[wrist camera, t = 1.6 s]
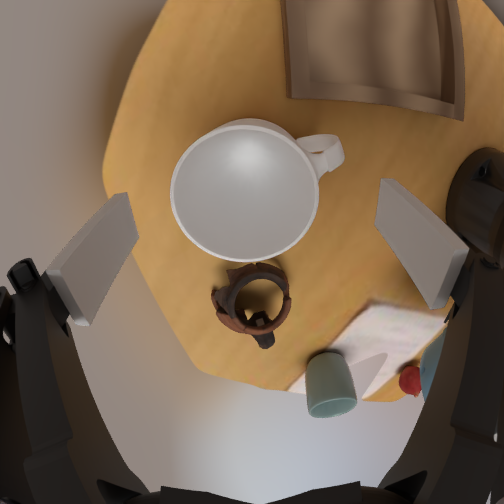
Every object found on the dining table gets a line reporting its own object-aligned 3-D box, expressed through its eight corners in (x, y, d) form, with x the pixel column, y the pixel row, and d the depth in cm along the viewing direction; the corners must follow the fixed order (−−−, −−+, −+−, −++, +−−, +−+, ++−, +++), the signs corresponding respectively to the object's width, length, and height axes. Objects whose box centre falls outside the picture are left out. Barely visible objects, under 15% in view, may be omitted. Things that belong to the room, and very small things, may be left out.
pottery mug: (193, 274, 35) (202, 293, 27) (257, 239, 36) (282, 247, 29) (235, 345, 38) (253, 375, 30) (291, 312, 40) (319, 333, 32)
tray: (433, -19, 12) (450, -26, 9) (443, 115, 22) (463, 121, 19) (274, -54, 12) (276, -70, 9) (286, 97, 22) (292, 98, 19)
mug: (228, 210, 29) (211, 280, 19) (190, 135, 25) (144, 166, 15) (333, 171, 26) (377, 223, 16) (303, 90, 22) (338, 85, 12)
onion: (420, 355, 46) (432, 385, 39) (417, 367, 49) (427, 396, 42) (395, 364, 47) (406, 396, 40) (394, 376, 50) (403, 406, 43)
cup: (337, 370, 46) (346, 416, 38) (297, 370, 46) (302, 419, 38) (352, 345, 42) (365, 396, 34) (309, 345, 42) (317, 399, 33)
